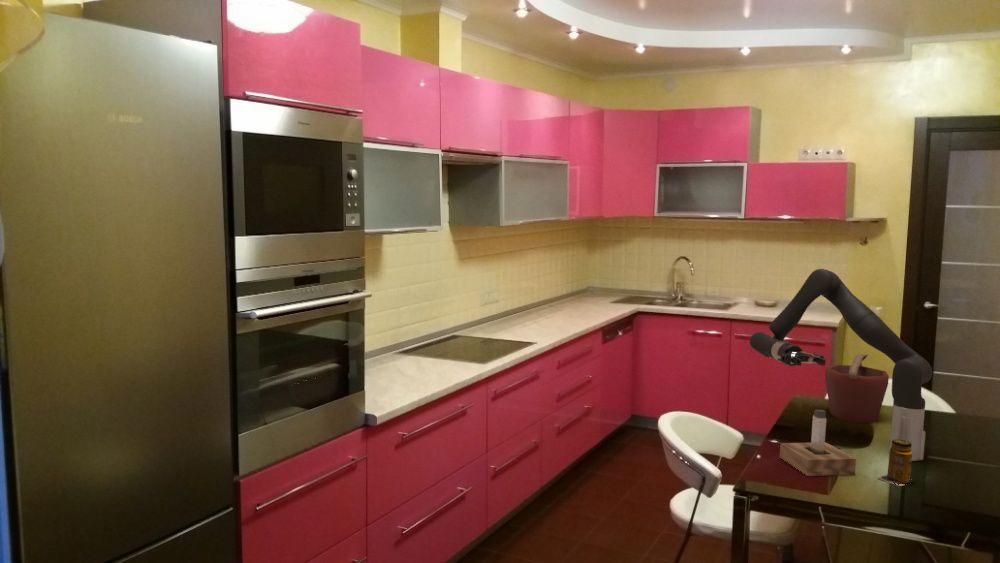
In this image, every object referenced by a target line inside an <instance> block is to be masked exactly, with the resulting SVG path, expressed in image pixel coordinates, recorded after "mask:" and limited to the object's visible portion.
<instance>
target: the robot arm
mask: <svg viewBox="0 0 1000 563" xmlns="http://www.w3.org/2000/svg"><path fill="white" fill-rule="evenodd" d="M821 296H822V297H824V298H825V299H826V300H827V301H829V303H831V304H832V305H833V306H834V307H835V308H836V309H837V310H838V311H839V312H840V314H841V316H842V317H843V320H844V321H845V323H846V324H847V325H848V327H849V328H850V329H851V330H852V331H853V332H854V334H856V335H857V336H858V337H859V338H860V340H862V341H863V342H864V343H866V344H867V345H869V346H870V347H872V348H874V349H876V350H877V351H879V352H881V353H883V354H884V355H885V356H886V357H888V358H889V359H890V360H891V361H892V362H893V363H894V366H893V369H892V374H891V375H892V376H891V378H892V379H891V397H892V399H893V402H892V403H893V405H892V414H891V427H890V439H889V447H888V450H889V451H888V453H889V452H890V449H891V445H892V440H894V439H901V440H906V441H909V442H911V444H912V446H911V448H912V449H911V452H912V462H913V461H914V462H915V461H923V460H924V455H925V454H924V452H925V443H926V431H925V430H924V421H925V410H926V399H925V398H924V397H923V395H922V389H923V388H922V387H923V386H922V385H923V384H926V383H928V382H929V381H930V380H931V379H932V377H933V369H932V366H931V365H930V363H929V362H928V361H927V360H926V359H925V358H924V357H923V356H922V355H920V354H919V353H918V352H916V351H915V350H914V349H912V348H911V347H910V346H908V345H907V343H905V342H904V341H903V340H902V339H901V338H900V337H899V336H898V335H897V334H896V332H894V331H893V330H892V329H891V328H890V327H889V326H888V325H887V324H886V323H885V322H884V320H882V319H881V318H880V317H879V316H878V314H876V313H875V312H874V311H873V310H872V309H871V308H870V307H869V306H867V305H866V304H865V303H864V302H863V301H862V300H860V299H859V298H858V297H856V295H854V294H853V293H852V291H851V290H850V289H849V288H848V287H847V286H846V284H845V283H844V282H843V281H842V279H841V278H840V277H839V276H838V275H837V274H836V273H835V272H833V271H831V270H828V269H825V268H818V269H815V270H813V271H812V272H811V273H810V274H809V275H808V277H807V279H806V280H805V281H804V283H803V284H802V286H801V287H800V288H799V290H798V292H797V293H795V295H794V297H793V298H792V299H791V300H790V302H789V303H788V304H787V305H786V306H785V307H784V309H783V310H782V311H781V312H779V314H778V315H777V316H776V317H775V318H774V319H773V320H772V321H771V323H769V325H768V328H769V331H770V332H771V333H772V334H773V336H770V335H769V334H767V333H765V332H762V331H757V332H754V333H753V334H752V335H751V336H750V338H749V346H750V347H751V348H752V349H753V350H755V351H756V352H758V353H759V354H760V355H763V356H764V357H765V358H771V359H774V360H776V361H777V362H780V363H782V364H785V365H787V366H790V367H795V366H798V367H799V366H802V364H809V365H812V364H817V365H819V366H822V367H823V366H826V362H827V361H826V360H827V359H825V356H824V355H822V354H818V353H815V352H812V353H809V352H806V351H803V349H802V348H801V347H800V346H799V345H797V344H794V343H791V342H788V341H785V338H786V337H787V335H788V334H790V332H791V331H792V330H793V329H794V328H795V327H796V326H797V325H798V323H800V320H801V319H802V317H803V316H804V314H805V312H806V311H807V309H808V308H809V307H810V305H811V304H812V303H813V302H815V300H816V299H818V298H819V297H821Z"/></svg>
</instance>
